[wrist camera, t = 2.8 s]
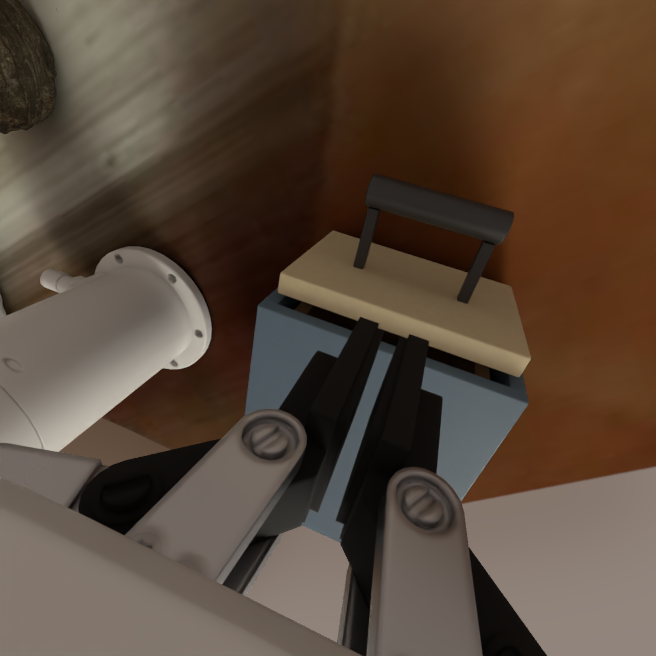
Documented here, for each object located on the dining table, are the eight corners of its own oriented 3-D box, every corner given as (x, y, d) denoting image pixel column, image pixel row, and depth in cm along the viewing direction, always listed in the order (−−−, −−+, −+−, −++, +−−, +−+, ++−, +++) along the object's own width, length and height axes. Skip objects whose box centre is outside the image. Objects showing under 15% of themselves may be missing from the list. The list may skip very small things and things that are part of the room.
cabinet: (324, 246, 28) (257, 304, 19) (507, 305, 25) (529, 403, 16) (290, 404, 36) (234, 494, 28) (424, 458, 34) (410, 575, 25)
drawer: (349, 153, 23) (295, 166, 16) (552, 208, 21) (598, 254, 14) (297, 391, 34) (251, 465, 27) (428, 443, 32) (416, 538, 25)
